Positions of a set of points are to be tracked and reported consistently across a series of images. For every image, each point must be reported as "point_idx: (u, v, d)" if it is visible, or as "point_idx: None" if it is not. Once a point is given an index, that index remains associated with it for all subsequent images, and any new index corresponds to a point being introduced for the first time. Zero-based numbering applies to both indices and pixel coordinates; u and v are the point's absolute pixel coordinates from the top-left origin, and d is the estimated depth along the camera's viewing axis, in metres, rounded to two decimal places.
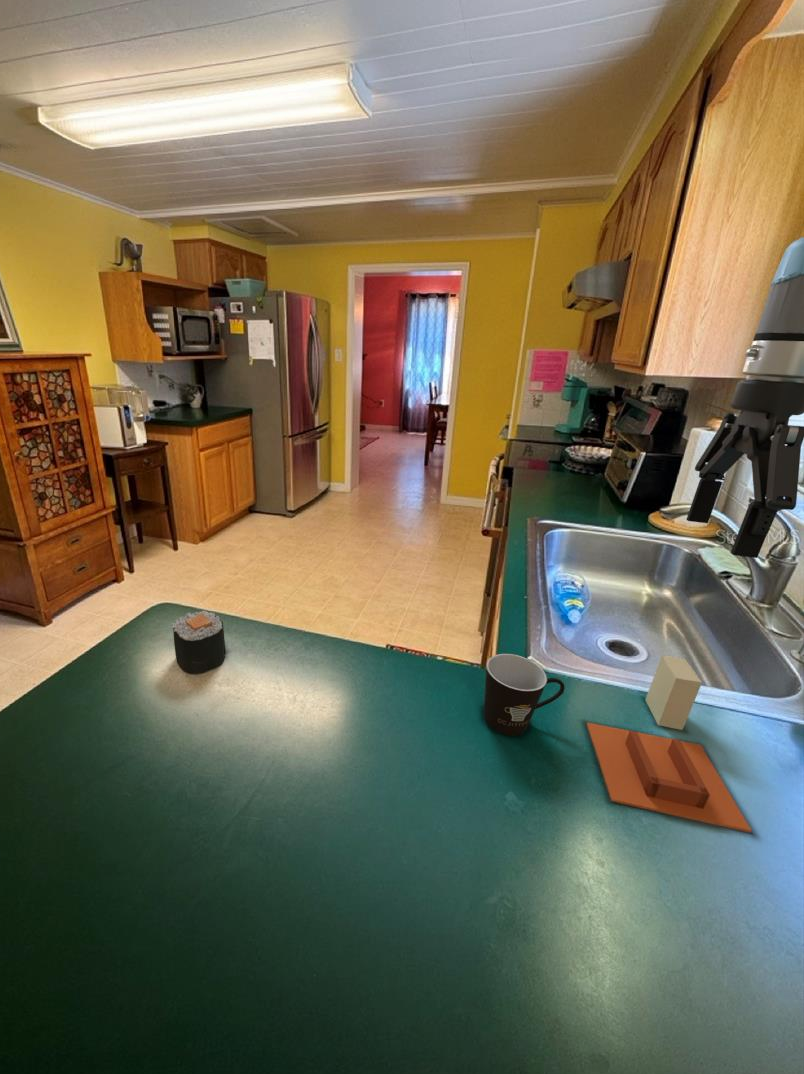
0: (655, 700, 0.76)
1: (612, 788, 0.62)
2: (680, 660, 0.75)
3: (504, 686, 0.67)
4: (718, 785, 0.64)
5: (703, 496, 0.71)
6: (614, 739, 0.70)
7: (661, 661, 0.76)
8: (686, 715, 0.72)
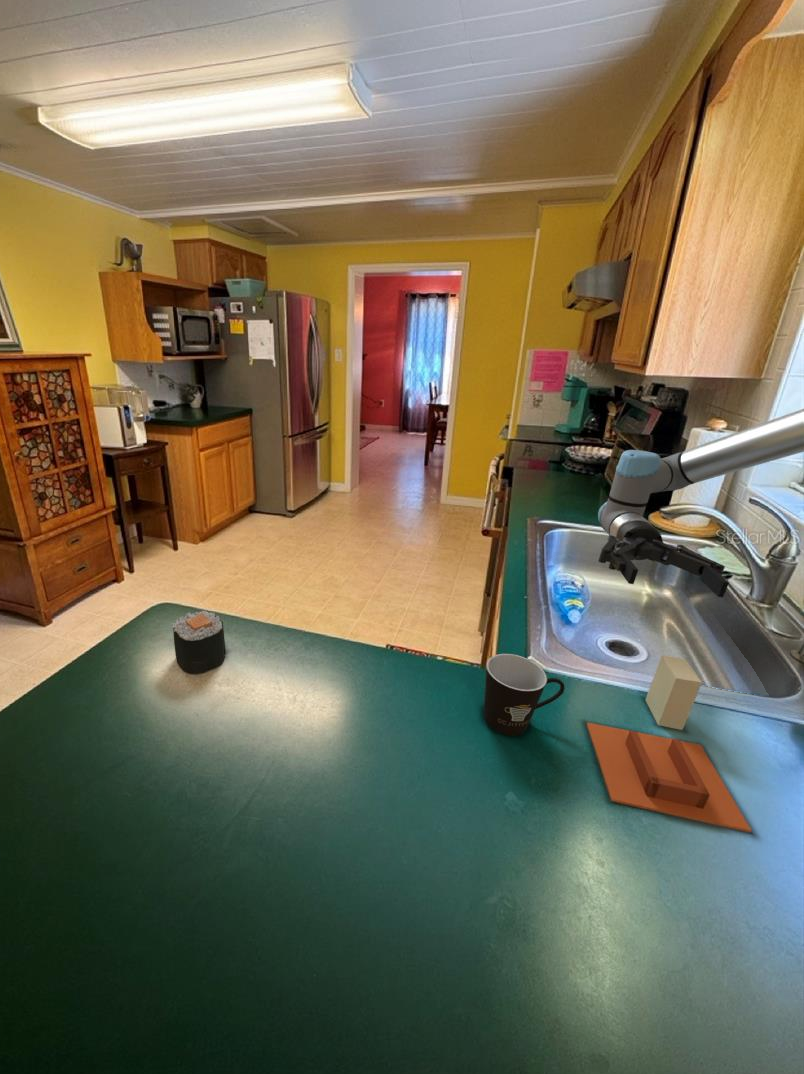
0: (655, 700, 0.76)
1: (612, 788, 0.62)
2: (680, 660, 0.75)
3: (504, 686, 0.67)
4: (718, 785, 0.64)
5: (708, 580, 0.80)
6: (614, 739, 0.70)
7: (661, 661, 0.76)
8: (686, 715, 0.72)
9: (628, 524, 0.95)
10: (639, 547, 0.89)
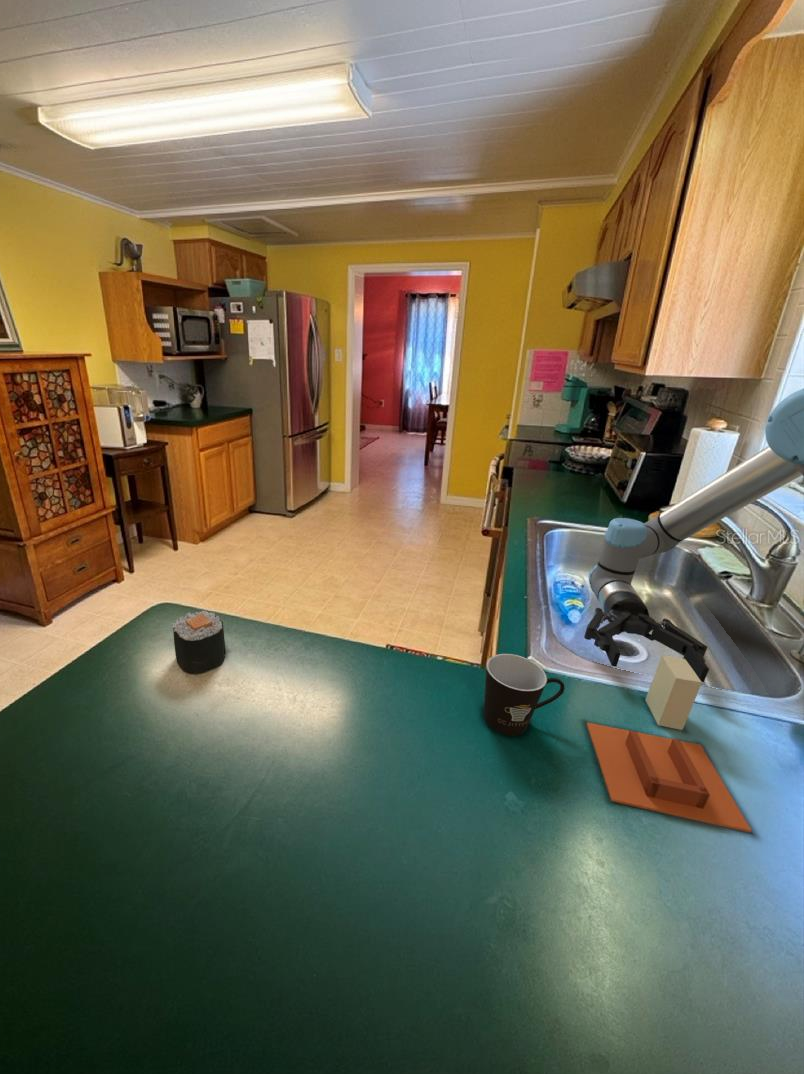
0: (655, 700, 0.76)
1: (612, 788, 0.62)
2: (680, 660, 0.75)
3: (504, 686, 0.67)
4: (718, 785, 0.64)
5: (690, 662, 0.82)
6: (614, 739, 0.70)
7: (661, 661, 0.76)
8: (686, 715, 0.72)
9: (615, 595, 0.97)
10: (625, 622, 0.91)
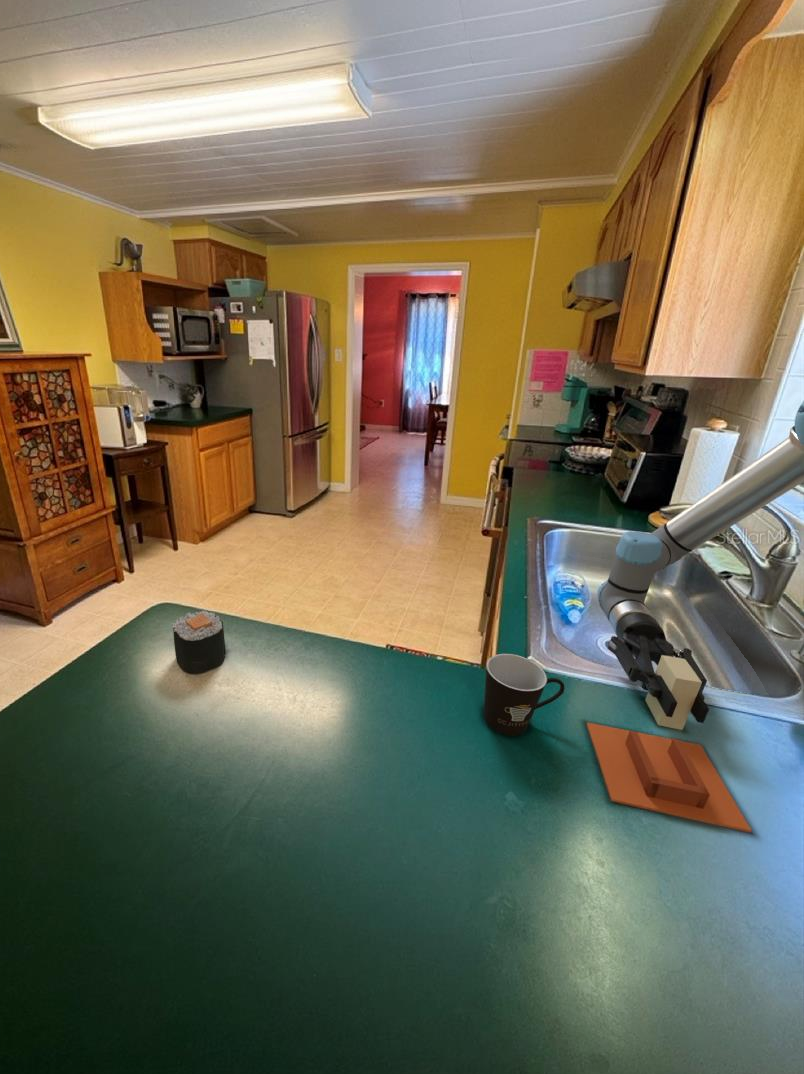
0: (655, 700, 0.76)
1: (612, 788, 0.62)
2: (680, 660, 0.75)
3: (504, 686, 0.67)
4: (718, 785, 0.64)
5: None
6: (614, 739, 0.70)
7: (661, 661, 0.76)
8: (686, 715, 0.72)
9: (629, 617, 0.89)
10: None
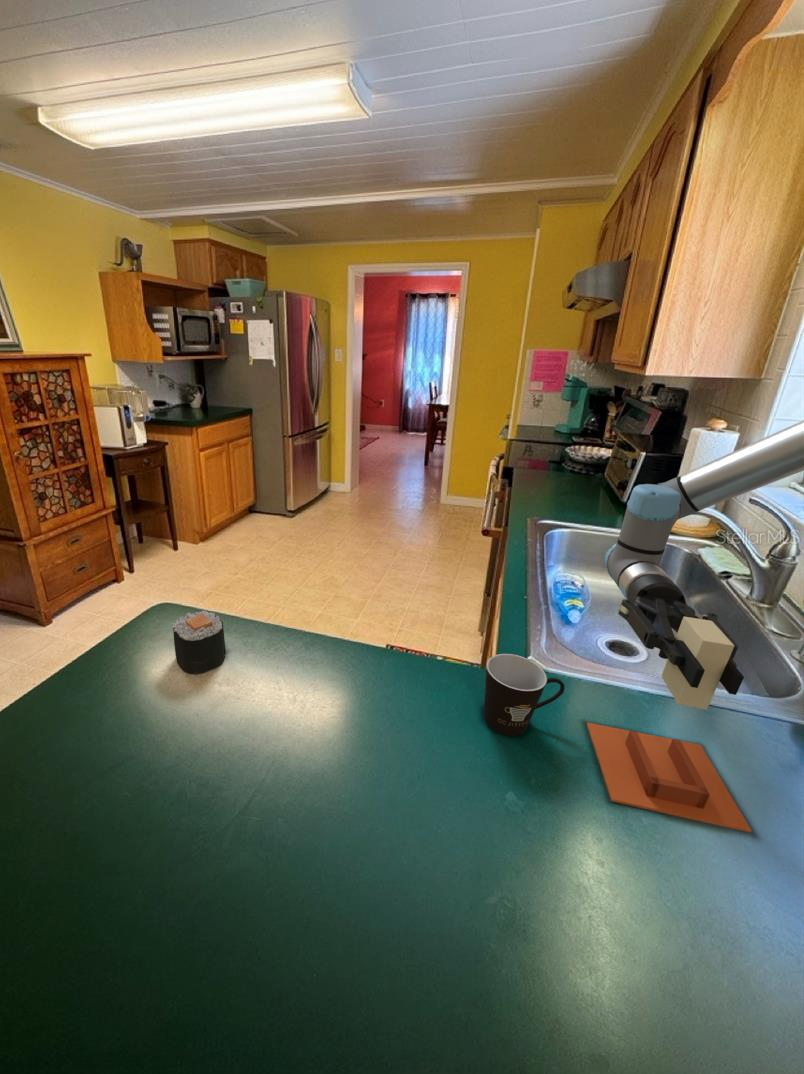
0: (675, 670, 0.64)
1: (612, 788, 0.62)
2: (706, 622, 0.63)
3: (504, 686, 0.67)
4: (718, 785, 0.64)
5: None
6: (614, 739, 0.70)
7: (683, 623, 0.64)
8: (714, 686, 0.60)
9: (642, 579, 0.77)
10: None
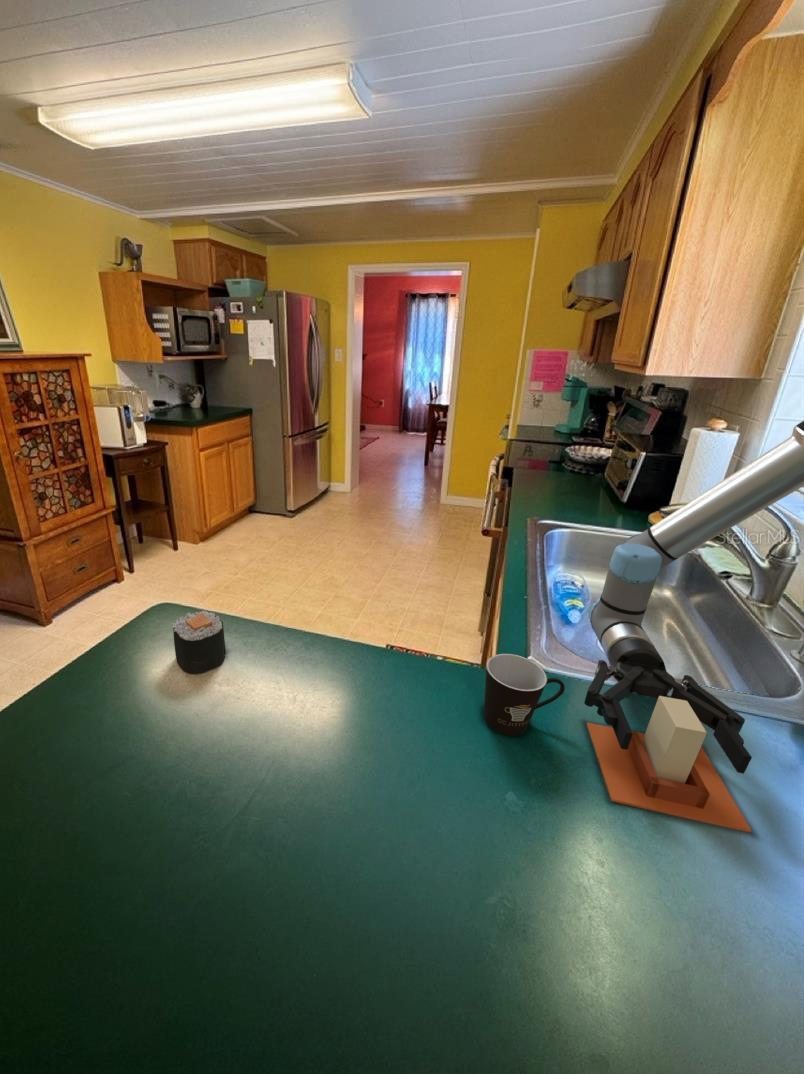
0: (651, 748, 0.65)
1: (612, 788, 0.62)
2: (681, 703, 0.64)
3: (504, 686, 0.67)
4: (718, 785, 0.64)
5: (723, 742, 0.63)
6: (614, 739, 0.70)
7: (659, 703, 0.65)
8: (688, 769, 0.61)
9: (623, 643, 0.78)
10: (636, 681, 0.72)
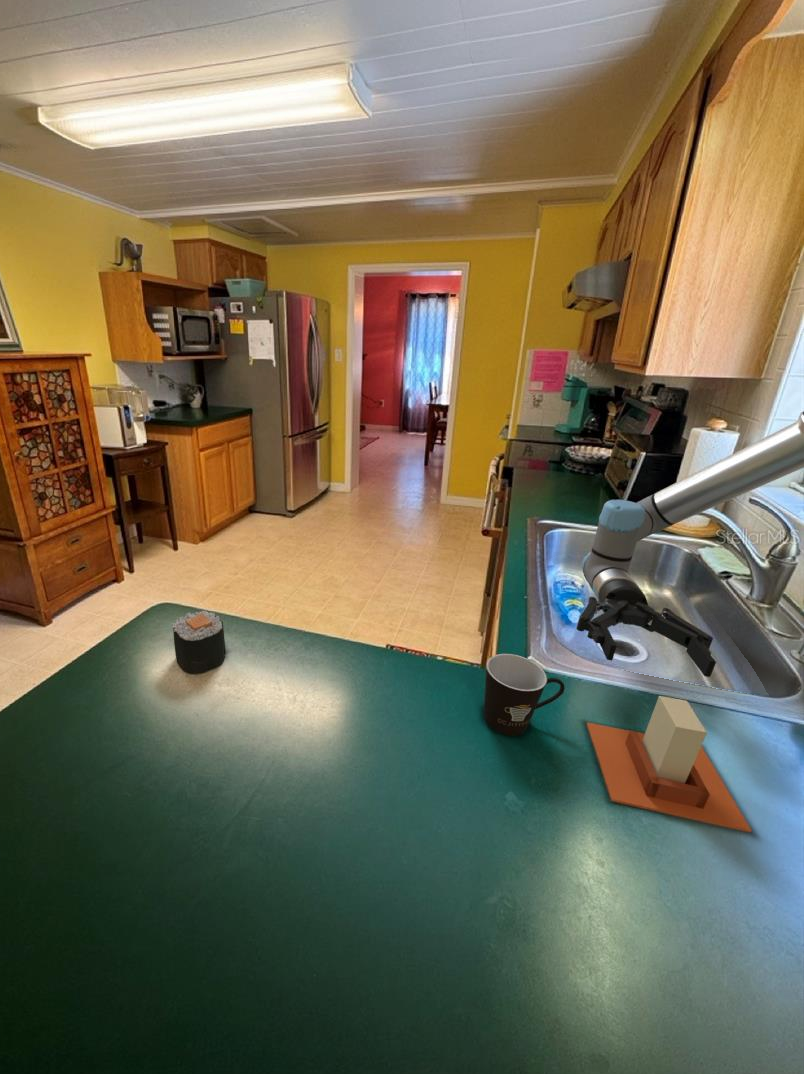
0: (651, 748, 0.65)
1: (612, 788, 0.62)
2: (681, 703, 0.64)
3: (504, 686, 0.67)
4: (718, 785, 0.64)
5: (694, 655, 0.74)
6: (614, 739, 0.70)
7: (659, 703, 0.65)
8: (688, 769, 0.61)
9: (611, 583, 0.89)
10: (621, 612, 0.83)
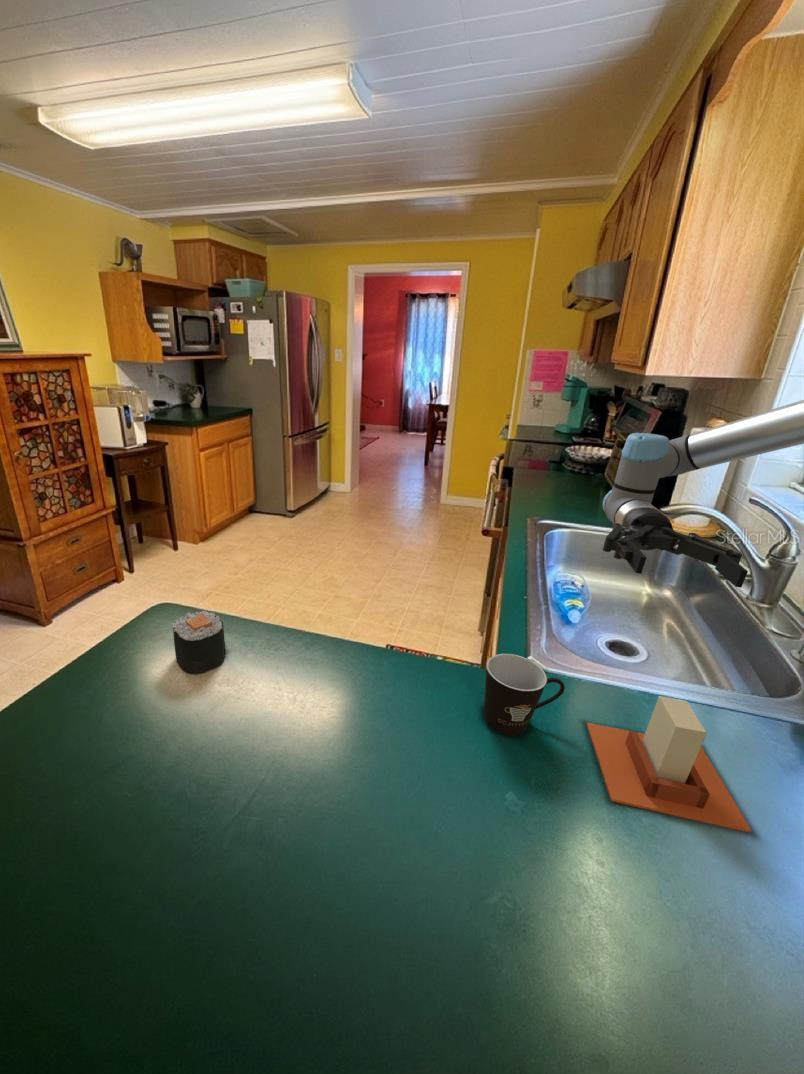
0: (651, 748, 0.65)
1: (612, 788, 0.62)
2: (681, 703, 0.64)
3: (504, 686, 0.67)
4: (718, 785, 0.64)
5: (724, 570, 0.73)
6: (614, 739, 0.70)
7: (659, 703, 0.65)
8: (688, 769, 0.61)
9: (635, 511, 0.88)
10: (647, 535, 0.82)
